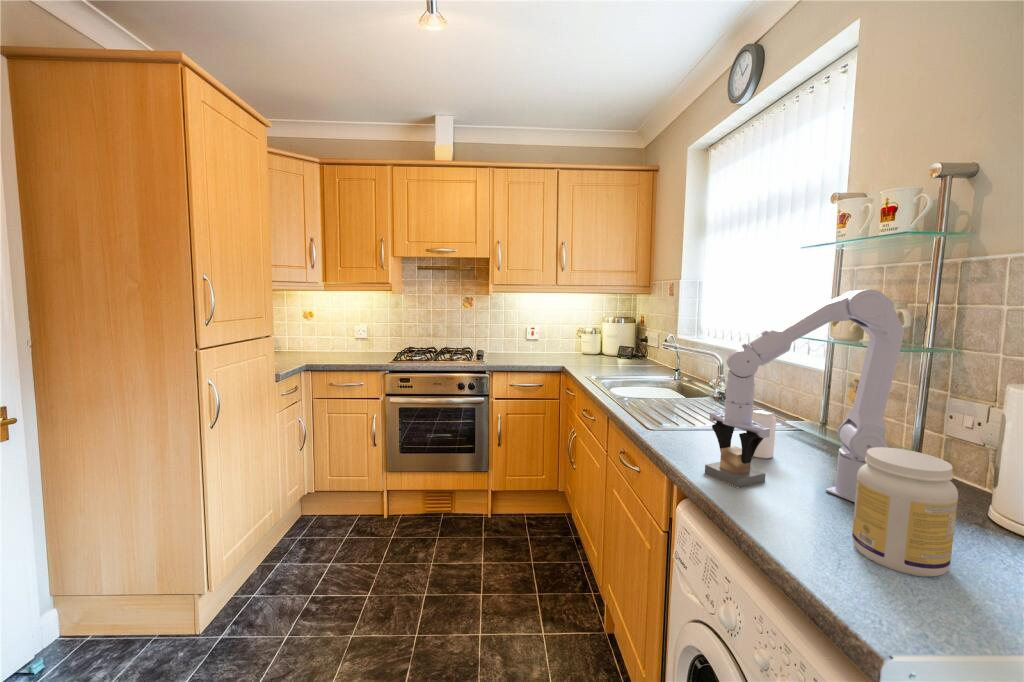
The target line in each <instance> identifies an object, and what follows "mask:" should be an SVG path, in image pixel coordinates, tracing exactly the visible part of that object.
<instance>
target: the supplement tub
mask: <svg viewBox="0 0 1024 682" xmlns="http://www.w3.org/2000/svg"><path fill="white" fill-rule="evenodd" d="M865 461H866V463H867V464H865V465H863V466H862V467H860V469H859V470H858V474H857V486H856V497H855V503H854V510H853V511H854V513H853V520H852V521H853V522H852V533H851V537H852V538H851V539H852V543H853V545H854V546H855V548H856V549H857V550H858V551H859V553H861V554H862V556H864V557H866V558H867V559H869V560H871V561H872V562H874V563H876V564H878V565H881V566H883V567H885V568H888V569H891V570H894V571H896V572H899V573H902V574H907V575H912V576H915V577H916V576H917V577H928V578H929V577H938V576H942V575H945V574H946V573H947V572H948V571H949V568H950V566H951V560H952V559H951V558H952V551H953V543H954V535H955V534H954V533H955V528H956V526H955V525H956V516H957V509H958V500H959V491H958V489H957V487H956V486H955V484H954V482H952V481H951V480H953V479H954V474H953V471H954V469H953V468H954V467H953V465H952V464H951V463H950V462H948V461H946V460H945V459H944V460H943V459H941V458H939V457H937V456H933V455H931V454H926V453H923V452H918V451H914V450H909V449H903V448H897V447H896V448H895V447H888V448H887V447H876V448H870V449H868V450H867V454H866V457H865Z"/></svg>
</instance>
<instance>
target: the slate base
mask: <svg viewBox="0 0 1024 682" xmlns="http://www.w3.org/2000/svg"><path fill="white" fill-rule="evenodd" d="M704 473H705V474H706V473H707V474H706V475H708V474H709V476H711V477H712V478H715V479H717V478H718V479H717V480H719V479H720V480H719V481H721V480H722V481H721V482H723V481H724V482H723V483H725V482H726V483H725V484H727V483H729V484H728V485H730V484H731V485H730V486H732V485H733V486H732V487H734V486H735V487H734V488H736V487H739V488H742V487H743V486H744V487H747V485H748V486H752V485H756V483H757V484H761V483H765V482H766V473H765V472H763V471H761V470H759V469H756V468H755V467H750V471H748V472H744V473H739V474H735V473H733V472H731V471H728V470H726V469H724V468H722V467H720V461H717V462H713V463H707V464H705V465H704Z"/></svg>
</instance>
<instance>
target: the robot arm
mask: <svg viewBox="0 0 1024 682" xmlns="http://www.w3.org/2000/svg"><path fill="white" fill-rule="evenodd" d="M847 321H851V322H852V323H853V322H854V323H855V324H857V325H858V327H860V328H861V329H862V330H863V331H864V332H865V334H867V335H868V336H869V337H868V343H867V345H866V351H865V354H864V359H863V362H862V363H863V364H862V368H861V372H860V376H859V381H858V385H857V389H856V392H855V393H856V394H855V397H854V401H853V406H852V408H851V409H850V410H849V411H848V412H847V414H846V418H845V419H844V421H843V422H842V423H841V424H840V426H838V429H837V437H838V439H839V441H840V442H841V443H842V445H841V446H840V448H839V449H838V455H837V466H836V477H835V486H831V487H828V488H825V492H827V493H829V494H832V495H834V496H837V497H839V498H842V499H845V500H847V501H850V502H852V503H854V504H855V497H856V486H857V474H858V470H859V469H860V467H862V466H863V465H865V464H867V463H866V461H865V457H866V454H867V450H868V449H870V448H876V447H887V448H889V445H888V442H887V439H886V433H887V427H886V423H885V422H886V421H885V419H884V418H885V417H884V414H885V412H886V408H887V407H886V406H887V403H888V399H889V395H890V391H891V387H892V383H893V379H894V375H895V371H896V368H897V365H898V364H897V363H898V359H899V355H900V352H901V349H902V348H901V347H902V343H903V340H904V339H903V338H904V336H905V328H904V327H903V324H902V322H901V320H900V319H899V316H898V314H897V311H896V309H895V302H894V301H893V300H892V299H890V298H889V297H888V296H887V295H886V294H884V293H883V292H881V291H879V290H878V289H872V288H871V289H870V288H869V289H868V288H867V289H864V290H863V289H861V290H860V289H851V290H849V291H846V292H844V293H843V294H842V295H841V296H837V297H835V298H832V299H829V300H828V301H826V302H824V303H823V304H821V305H819V306H818V307H816V308H815V309H813V310H811V311H810V312H809V313H807V314H806V315H804V316H802V317H801V318H800V319H798V320H795V322H793V323H791V324H790V325H788V326H787V327H785V328H783V329H781V330H780V329H771V330H763V331H761V332H760V336H759V337H758V338H755V339H754V340H752V341H751V342H749V343H743V344H742V345H741V347H742V349H739V348H738V349H735V350H734V351H732V352H731V353H730V354H729V355H728V357H727V359H726V365H727V367H728V368H729V370H728V372H727V380H726V386H725V388H726V390H725V405H724V407H725V408H724V413H721V412H717V411H712V412H709V421H710V422H715V423H713V424H712V425H711V428H712V430H713V431H714V433H715V434H714V435H715V436H716V438H717V443H718V445H719V450H720V452H721V448H727V447H732V439H733V434H734V431H735V429H739V430H742V431H745V432H742V433H739V434H738V437H739V439H740V445H741V449H742V463H744V464H746V463H751V464H752V460H753V458H754V457H753V455H754V452H755V450H756V448H757V447H758V445H759V444H760V442H761V441H762V440H763V439H764V438H766V437H769V434H770V428H767V427H764V426H762V425H760V424H758V423H756V422H754V421H752V415H753V409H754V398H755V386H756V385H755V374H756V373H757V371H758V370H759V367H760V366H765V365H767V364H769V363H770V362H772V361H774V360H776V359H777V358H779V357H781V356H783V355H784V354H786V353H788V352H789V351H790V350H791V346H792V343H794V341H797V340H799V339H800V338H802V337H804V336H806V335H808V334H809V333H811V332H814V331H816V330H818V329H819V328H821V327H823V326H825V325H827V324H828V323H833V322H847Z"/></svg>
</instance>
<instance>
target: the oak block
mask: <svg viewBox="0 0 1024 682" xmlns="http://www.w3.org/2000/svg"><path fill="white" fill-rule="evenodd" d="M719 462H720V467H722V468H724V469H726V470H728V471H731V472H733V473H735V474H739V473H744V472H748V471H750V467H751V464H752V462H751V463H746V464H744V463H742V447H741V448H740V447H738V446H734V445H733V446H731V447H727V448H721V451H720V459H719Z"/></svg>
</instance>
